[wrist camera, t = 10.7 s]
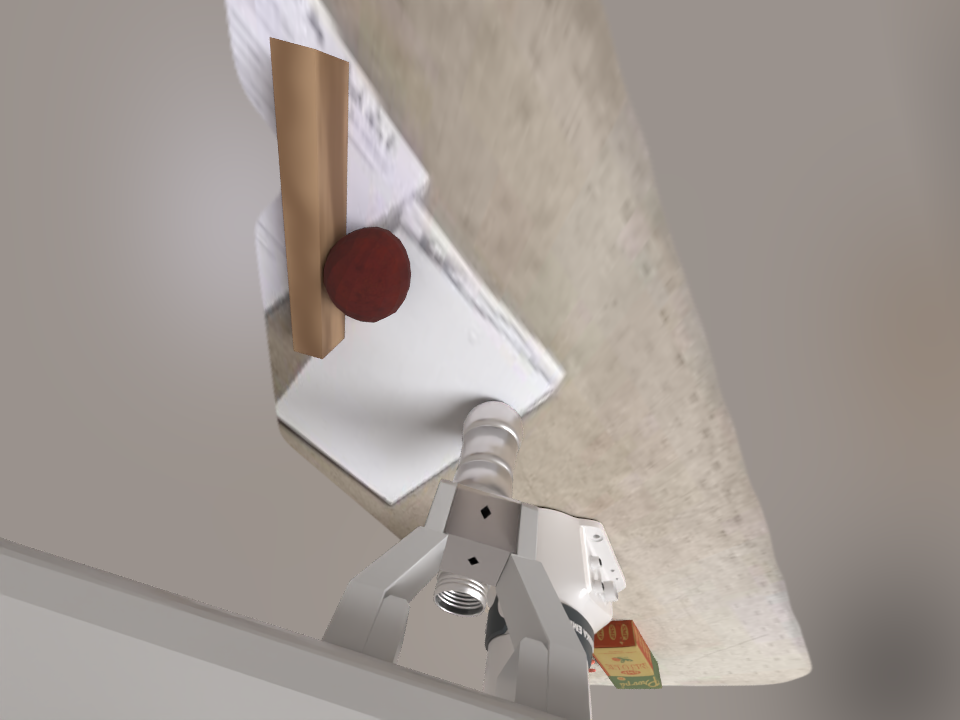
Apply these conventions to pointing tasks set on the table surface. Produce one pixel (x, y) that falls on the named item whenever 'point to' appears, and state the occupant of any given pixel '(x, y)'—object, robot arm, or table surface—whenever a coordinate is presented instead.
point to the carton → (626, 656)
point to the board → (311, 183)
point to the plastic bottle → (489, 469)
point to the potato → (368, 274)
